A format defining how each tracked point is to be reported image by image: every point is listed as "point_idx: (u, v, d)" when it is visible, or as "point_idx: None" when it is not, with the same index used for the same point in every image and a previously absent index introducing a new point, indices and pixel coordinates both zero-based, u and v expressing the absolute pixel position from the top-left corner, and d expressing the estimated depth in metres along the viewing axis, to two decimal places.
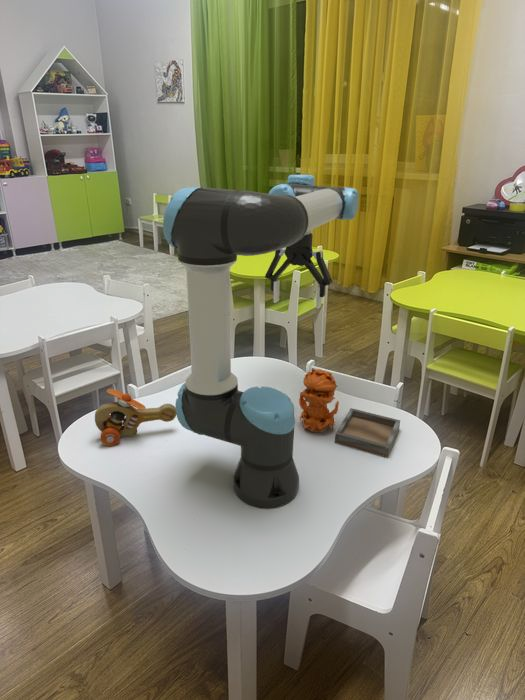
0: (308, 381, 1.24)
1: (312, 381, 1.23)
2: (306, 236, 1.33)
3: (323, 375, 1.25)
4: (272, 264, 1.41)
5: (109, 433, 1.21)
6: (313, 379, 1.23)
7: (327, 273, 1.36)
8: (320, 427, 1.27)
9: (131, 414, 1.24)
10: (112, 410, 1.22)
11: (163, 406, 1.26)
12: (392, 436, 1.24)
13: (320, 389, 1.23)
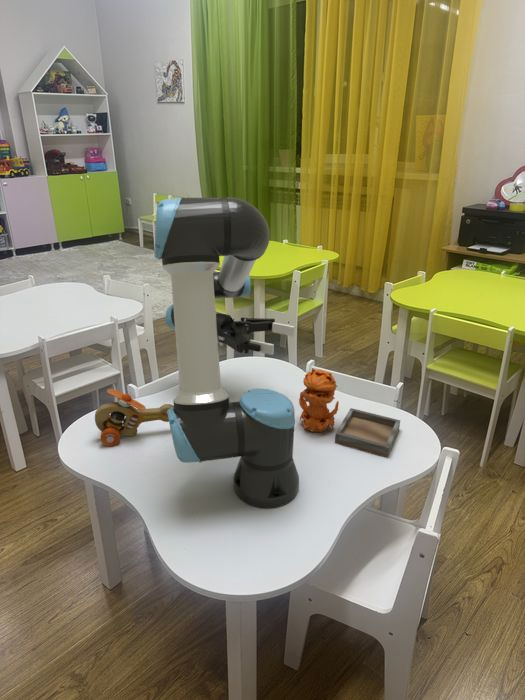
0: (308, 381, 1.24)
1: (312, 381, 1.23)
2: None
3: (323, 375, 1.25)
4: (231, 337, 1.25)
5: (109, 433, 1.21)
6: (313, 379, 1.23)
7: None
8: (320, 427, 1.27)
9: (131, 414, 1.24)
10: (112, 410, 1.22)
11: (163, 406, 1.26)
12: (392, 436, 1.24)
13: (320, 389, 1.23)
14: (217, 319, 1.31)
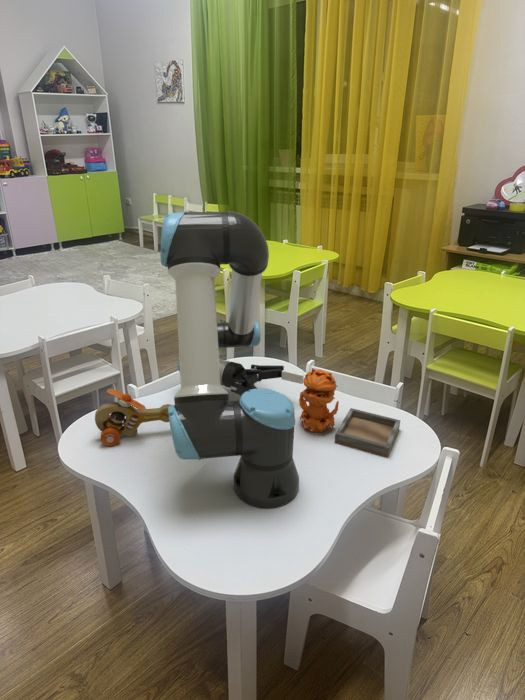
0: (308, 381, 1.24)
1: (312, 381, 1.23)
2: None
3: (323, 375, 1.25)
4: (244, 388, 1.30)
5: (109, 433, 1.21)
6: (313, 379, 1.23)
7: None
8: (320, 427, 1.27)
9: (131, 414, 1.24)
10: (112, 410, 1.22)
11: (163, 407, 1.26)
12: (392, 436, 1.24)
13: (320, 389, 1.23)
14: (229, 368, 1.37)
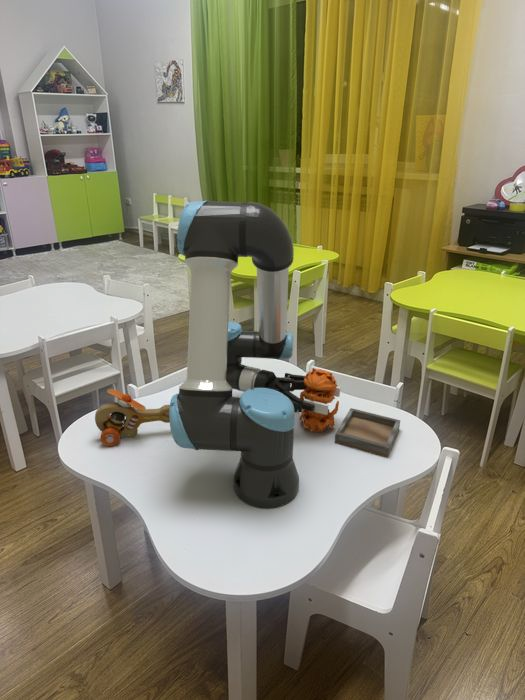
0: (309, 381, 1.24)
1: (313, 381, 1.23)
2: None
3: (324, 375, 1.25)
4: None
5: (109, 433, 1.21)
6: (314, 379, 1.23)
7: None
8: (320, 427, 1.27)
9: (131, 415, 1.24)
10: (112, 410, 1.22)
11: (163, 407, 1.26)
12: (392, 436, 1.24)
13: (320, 389, 1.23)
14: (261, 377, 1.32)
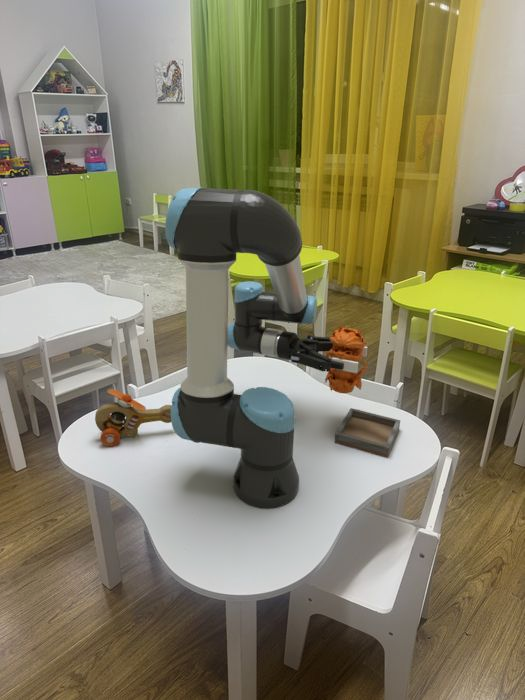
0: (337, 338, 1.18)
1: (341, 338, 1.18)
2: None
3: (352, 332, 1.20)
4: (309, 357, 1.20)
5: (109, 433, 1.21)
6: (342, 336, 1.18)
7: None
8: (348, 387, 1.22)
9: (131, 415, 1.24)
10: (112, 410, 1.22)
11: (164, 407, 1.26)
12: (392, 436, 1.24)
13: (350, 346, 1.17)
14: (285, 338, 1.26)
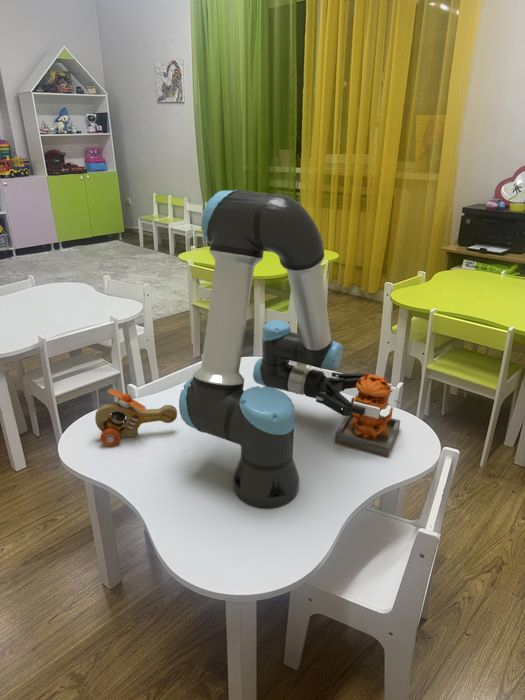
0: (363, 386, 1.19)
1: (367, 387, 1.19)
2: None
3: (378, 380, 1.20)
4: (332, 399, 1.20)
5: (109, 433, 1.21)
6: (368, 385, 1.19)
7: None
8: (374, 434, 1.23)
9: (131, 415, 1.24)
10: (112, 410, 1.22)
11: (164, 407, 1.26)
12: (392, 436, 1.24)
13: (376, 395, 1.18)
14: (312, 377, 1.27)
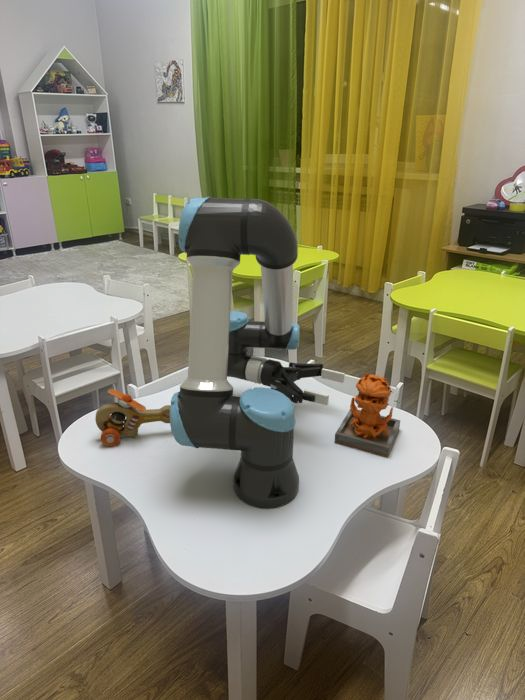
0: (363, 387, 1.19)
1: (368, 387, 1.19)
2: None
3: (378, 380, 1.20)
4: (285, 387, 1.25)
5: (109, 433, 1.21)
6: (368, 385, 1.19)
7: None
8: (374, 434, 1.23)
9: (131, 415, 1.24)
10: (113, 410, 1.22)
11: (164, 407, 1.25)
12: (392, 436, 1.24)
13: (376, 395, 1.18)
14: (268, 366, 1.32)
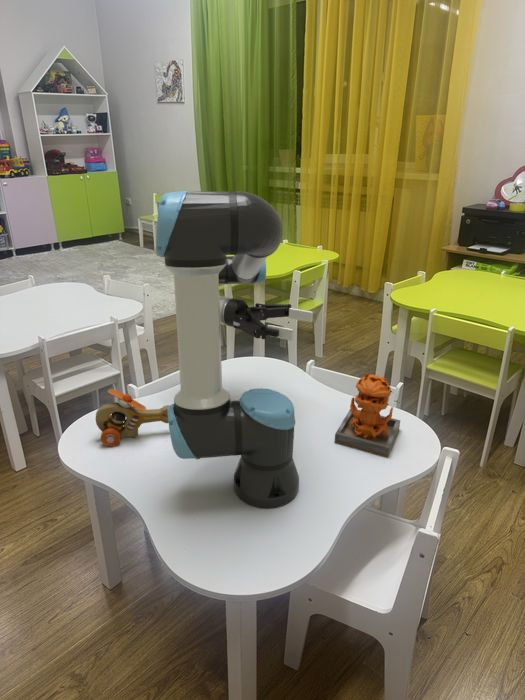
0: (363, 387, 1.19)
1: (368, 387, 1.19)
2: None
3: (378, 380, 1.20)
4: (247, 323, 1.18)
5: (109, 433, 1.21)
6: (368, 385, 1.19)
7: None
8: (374, 434, 1.23)
9: (131, 415, 1.24)
10: (113, 410, 1.22)
11: (164, 407, 1.25)
12: (392, 436, 1.24)
13: (376, 395, 1.18)
14: (231, 304, 1.25)
